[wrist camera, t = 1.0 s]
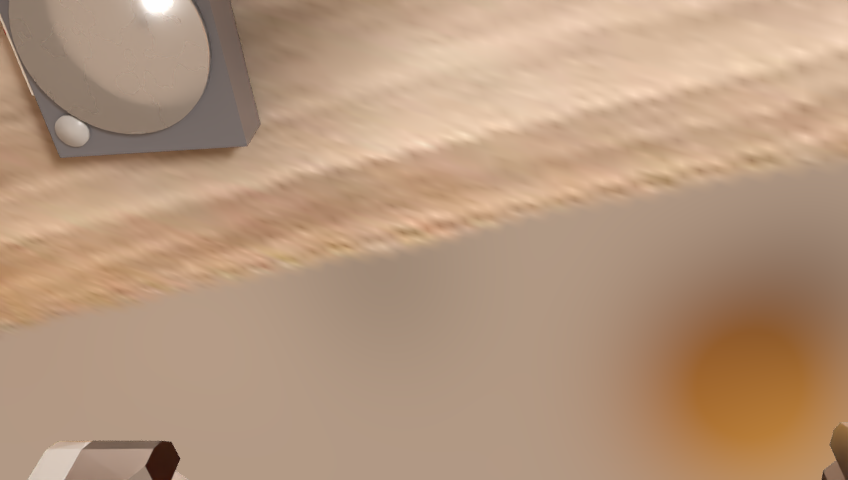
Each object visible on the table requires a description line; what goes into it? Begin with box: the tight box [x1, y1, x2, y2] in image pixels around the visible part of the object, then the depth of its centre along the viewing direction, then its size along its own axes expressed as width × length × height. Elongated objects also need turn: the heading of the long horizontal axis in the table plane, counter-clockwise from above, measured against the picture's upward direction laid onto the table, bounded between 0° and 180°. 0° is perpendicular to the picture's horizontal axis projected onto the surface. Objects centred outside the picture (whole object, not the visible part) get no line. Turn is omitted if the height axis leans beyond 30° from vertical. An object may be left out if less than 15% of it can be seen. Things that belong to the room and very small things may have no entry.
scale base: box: [0, 0, 260, 158], centre depth 44 cm, size 14×12×3 cm
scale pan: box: [9, 0, 212, 134], centre depth 42 cm, size 11×11×1 cm
